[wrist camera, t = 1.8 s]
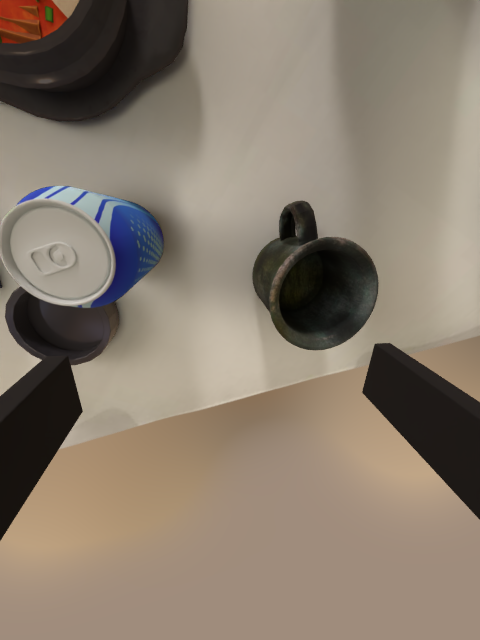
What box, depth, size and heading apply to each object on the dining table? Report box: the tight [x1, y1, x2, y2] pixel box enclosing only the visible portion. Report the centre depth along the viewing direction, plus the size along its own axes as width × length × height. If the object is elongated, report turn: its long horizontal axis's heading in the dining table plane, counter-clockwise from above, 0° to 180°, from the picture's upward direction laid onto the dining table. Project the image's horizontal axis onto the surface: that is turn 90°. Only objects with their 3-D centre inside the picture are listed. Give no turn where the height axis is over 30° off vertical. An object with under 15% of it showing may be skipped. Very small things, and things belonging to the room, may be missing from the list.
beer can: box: [0, 186, 164, 308], centre depth 23 cm, size 8×8×16 cm
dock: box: [5, 286, 119, 365], centre depth 31 cm, size 11×11×4 cm
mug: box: [253, 201, 378, 350], centre depth 28 cm, size 11×15×12 cm
